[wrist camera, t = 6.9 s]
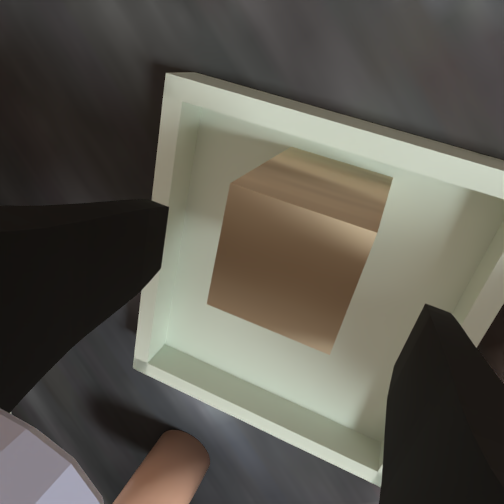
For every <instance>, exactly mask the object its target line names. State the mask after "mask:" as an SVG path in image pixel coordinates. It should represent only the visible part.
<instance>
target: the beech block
mask: <svg viewBox="0 0 504 504" xmlns="http://www.w3.org/2000/svg"><path fill="white" fill-rule="evenodd" d="M392 180H393V177H390V176H386V175H383V174H380V173H377V172H373V171H370V170H367V169H363V168H360V167H357V166H354V165H350V164H347V163H344V162H340V161H337V160H334V159H331V158H327V157H324V156H321V155H317V154H314V153H311V152H308V151H304V150H301V149H298V148H294V147H290V148H288V149H286V150H285V151H283V152H281V153H280V154H278V155H276V156H275V157H273V158H271V159H270V160H268V161H266V162H265V163H263V164H261V165H260V166H258V167H256V168H255V169H253V170H251V171H250V172H248V173H246V174H245V175H243V176H241V177H240V178H238V179H236V180H235V181H233V182H231V183H230V187H229V192H228V197H227V202H226V207H225V212H224V217H223V222H222V228H221V233H220V238H219V243H218V248H217V253H216V258H215V263H214V268H213V274H212V279H211V284H210V289H209V294H208V299H207V304H208V305H210V306H212V307H215V308H217V309H220V310H222V311H224V312H227V313H229V314H232V315H234V316H237V317H239V318H241V319H244V320H246V321H249V322H251V323H253V324H256V325H258V326H261V327H263V328H266V329H268V330H270V331H273V332H275V333H278V334H280V335H282V336H285V337H287V338H290V339H292V340H294V341H297V342H299V343H302V344H304V345H307V346H309V347H311V348H314V349H316V350H319V351H321V352H323V353H326V354H328V355H330V353H331V350H332V348H333V345H334V343H335V340H336V337H337V335H338V332H339V330H340V327H341V325H342V322H343V320H344V317H345V314H346V312H347V309H348V307H349V304H350V302H351V299H352V297H353V294H354V291H355V289H356V286H357V284H358V281H359V279H360V276H361V274H362V271H363V268H364V266H365V263H366V261H367V258H368V256H369V253H370V250H371V248H372V245H373V243H374V240H375V238H376V235H377V232H378V229H379V226H380V222H381V219H382V215H383V212H384V208H385V205H386V201H387V198H388V194H389V191H390V187H391V184H392Z"/></svg>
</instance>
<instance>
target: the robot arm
mask: <svg viewBox="0 0 504 504" xmlns="http://www.w3.org/2000/svg"><path fill="white" fill-rule="evenodd" d="M168 213H169V207H168V206H165V205H162V204H160V203H157V202H154V201H152V200H120V201H108V202H95V203H83V204H66V205H48V206H0V504H104V502H103V498H102V496H101V494H100V493H99V492H98V490H97V489H96V487H95V486H94V485H93V483H92V482H91V481H90V479H89V478H88V476H87V475H86V474H85V472H84V471H83V470H82V468H81V467H80V465H79V464H78V463H77V461H76V460H75V459H74V458H73V457H72V456H71V455H69V454H68V453H67V452H65V451H64V450H63V449H62V448H60V447H59V446H58V445H57V444H55V443H54V442H53V441H51V440H50V439H49V438H48V437H46V436H45V435H44V434H42V433H41V432H40V431H39V430H37V429H36V428H34V427H33V426H31V425H29V424H27V423H25V422H24V421H22V420H20V419H18V418H17V417H15V416H13V415H11V414H9V413H10V412H11V411H12V410H13V408H14V407H15V406H16V405H17V404H18V403H19V402H20V401H21V399H22V398H23V397H24V396H25V395H26V394H27V393H28V392H29V391H30V390H31V389H32V388H33V387H34V386H35V385H36V383H37V382H38V381H39V380H40V379H41V378H42V377H43V376H44V375H45V374H46V373H47V372H48V371H49V370H50V369H51V368H52V367H53V366H54V365H55V364H56V363H57V362H58V361H59V360H60V359H61V358H62V357H63V356H64V355H65V354H66V353H67V352H68V351H69V350H70V349H71V348H72V347H73V346H74V345H75V344H77V343H78V342H79V341H80V340H81V339H82V338H83V337H85V336H86V335H87V334H88V333H90V332H91V331H92V330H93V329H95V328H96V327H97V326H98V325H100V324H101V323H102V322H103V321H105V320H106V319H107V318H108V317H110V316H111V315H112V314H113V313H115V312H116V311H117V310H118V309H120V308H121V307H122V306H123V305H125V304H126V303H127V302H128V301H129V300H131V299H132V298H133V297H134V296H136V295H137V294H138V293H139V292H140V291H141V290H142V289H143V288H144V287H145V286H146V285H147V284H148V283H149V282H150V281H151V280H152V278H153V277H154V276H155V275H156V274H157V273H158V271H159V270H160V269H161V265H162V258H163V250H164V243H165V236H166V228H167V221H168ZM379 504H504V384H503V383H502V382H501V380H500V379H499V378H498V376H497V375H496V374H495V373H494V371H493V370H492V369H491V367H490V366H489V365H488V363H487V362H486V361H485V359H484V358H483V356H482V355H481V354H480V352H479V351H478V349H477V348H476V347H475V345H474V344H473V342H472V341H471V339H470V338H469V337H468V335H467V334H466V332H465V331H464V329H463V328H462V327H461V325H460V324H459V322H458V321H457V320H456V318H455V317H454V316H453V315H452V314H451V313H450V312H447V311H445V310H442V309H439V308H437V307H434V306H431V305H429V304H426V303H425V305H424V307H423V309H422V311H421V313H420V315H419V317H418V319H417V321H416V323H415V325H414V327H413V329H412V331H411V333H410V335H409V337H408V339H407V341H406V343H405V345H404V347H403V349H402V351H401V353H400V355H399V357H398V359H397V361H396V363H395V365H394V368H393V372H392V377H391V381H390V386H389V391H388V396H387V405H386V419H385V435H384V451H383V468H382V483H381V492H380V501H379Z"/></svg>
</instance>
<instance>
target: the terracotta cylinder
mask: <svg viewBox="0 0 504 504" xmlns="http://www.w3.org/2000/svg"><path fill="white" fill-rule="evenodd" d="M209 465H210V458H209V455H208V453H207V451H206V449H205V447H204V446H203V445H202V444H201V443H200V442H199V441H198V440H197V439H196V438H195V437H193V436H192V435H190V434H188V433H186V432H183V431H179V430H168V431H166V432H164V433H163V434H162V435H161V437H160V438H159V439H158V441H157V442H156V444H155V445H154V446H153V448H152V449H151V451H150V452H149V453H148V455H147V456H146V458H145V459H144V460H143V462H142V463H141V465H140V466H139V467H138V469H137V470H136V472H135V473H134V474H133V476H132V477H131V479H130V480H129V481H128V483H127V484H126V486H125V487H124V488H123V490H122V491H121V493H120V494H119V495H118V497H117V498H116V500H115V501H114V502H113V504H189V503H190V501H191V499H192V497H193V496H194V494H195V492H196V490H197V488H198V486H199V484H200V483H201V481H202V479H203V477H204V475H205V473H206V471H207V470H208V468H209Z"/></svg>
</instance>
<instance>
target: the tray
mask: <svg viewBox="0 0 504 504" xmlns="http://www.w3.org/2000/svg"><path fill="white" fill-rule="evenodd" d="M290 147H294V148H298V149H301V150H304V151H308V152H311V153H314V154H317V155H321V156H324V157H327V158H331V159H334V160H337V161H340V162H344V163H347V164H350V165H354V166H357V167H360V168H363V169H367V170H370V171H373V172H377V173H380V174H383V175H386V176H390V177H393V180H392V184H391V187H390V191H389V194H388V198H387V201H386V205H385V208H384V212H383V215H382V219H381V222H380V226H379V229H378V232H377V235H376V238H375V240H374V243H373V245H372V248H371V250H370V253H369V256H368V258H367V261H366V263H365V266H364V268H363V271H362V274H361V276H360V279H359V281H358V284H357V286H356V289H355V291H354V294H353V297H352V299H351V302H350V304H349V307H348V309H347V312H346V314H345V317H344V320H343V322H342V325H341V327H340V330H339V332H338V335H337V337H336V340H335V343H334V345H333V348H332V350H331V353H330V355H328V354H326V353H323V352H321V351H319V350H316V349H314V348H311V347H309V346H307V345H304V344H302V343H299V342H297V341H294V340H292V339H290V338H287V337H285V336H282V335H280V334H278V333H275V332H273V331H270V330H268V329H266V328H263V327H261V326H258V325H256V324H253V323H251V322H249V321H246V320H244V319H241V318H239V317H237V316H234V315H232V314H229V313H227V312H224V311H222V310H220V309H217V308H215V307H212V306H210V305H208V304H207V299H208V294H209V289H210V284H211V279H212V274H213V268H214V263H215V258H216V253H217V248H218V243H219V238H220V233H221V228H222V222H223V217H224V212H225V207H226V202H227V197H228V192H229V187H230V183H231V182H233V181H235V180H236V179H238V178H240V177H241V176H243V175H245V174H246V173H248V172H250V171H251V170H253V169H255V168H256V167H258V166H260V165H261V164H263V163H265V162H266V161H268V160H270V159H271V158H273V157H275V156H276V155H278V154H280V153H281V152H283V151H285V150H286V149H288V148H290ZM152 201H154V202H157V203H160V204H162V205H165V206H168V207H169V213H168V221H167V228H166V236H165V243H164V250H163V258H162V265H161V269H160V270H159V271H158V273H157V274H156V275H155V276H154V277H153V278H152V280H151V281H150V282H149V283H148V284H147V285H146V286H145V287H144V288H143V289H142V291H141V300H140V308H139V317H138V326H137V335H136V344H135V353H134V362H133V369H135V370H138V371H140V372H142V373H144V374H146V375H148V376H150V377H152V378H154V379H156V380H158V381H160V382H163V383H165V384H167V385H169V386H171V387H173V388H175V389H177V390H179V391H181V392H183V393H186V394H188V395H190V396H192V397H194V398H196V399H198V400H200V401H202V402H204V403H206V404H208V405H211V406H213V407H215V408H217V409H219V410H221V411H223V412H225V413H227V414H229V415H231V416H233V417H236V418H238V419H240V420H242V421H244V422H246V423H248V424H250V425H252V426H254V427H256V428H259V429H261V430H263V431H265V432H267V433H269V434H271V435H273V436H275V437H277V438H279V439H281V440H284V441H286V442H288V443H290V444H292V445H294V446H296V447H298V448H300V449H302V450H304V451H306V452H309V453H311V454H313V455H315V456H317V457H319V458H321V459H323V460H325V461H327V462H329V463H332V464H334V465H336V466H338V467H340V468H342V469H344V470H346V471H348V472H350V473H352V474H354V475H357V476H359V477H361V478H363V479H365V480H367V481H369V482H371V483H373V484H375V485H377V486H379V487H381V483H382V468H383V451H384V435H385V419H386V405H387V396H388V391H389V386H390V381H391V377H392V372H393V368H394V365H395V363H396V361H397V359H398V357H399V355H400V353H401V351H402V349H403V347H404V345H405V343H406V341H407V339H408V337H409V335H410V333H411V331H412V329H413V327H414V325H415V323H416V321H417V319H418V317H419V315H420V313H421V311H422V309H423V307H424V305H425V303H426V304H429V305H431V306H434V307H437V308H439V309H442V310H445V311H447V312H450V313H451V314H452V315H453V316H454V317H455V318H456V320H457V321H458V322H459V324H460V325H461V327H462V328H463V329H464V331H465V332H466V334H467V335H468V337H469V338H470V339H471V341H472V342H473V344H474V345H475V347H476V348H477V346H478V345H479V343H480V341H481V340H482V338H483V336H484V335H485V333H486V332H487V330H488V328H489V327H490V325H491V323H492V322H493V320H494V318H495V317H496V315H497V314H498V312H499V310H500V309H501V307H502V305H503V304H504V160H501V159H497V158H494V157H490V156H487V155H483V154H480V153H476V152H473V151H469V150H466V149H462V148H459V147H455V146H452V145H448V144H445V143H441V142H438V141H434V140H431V139H427V138H424V137H420V136H417V135H413V134H410V133H406V132H403V131H399V130H396V129H392V128H389V127H385V126H382V125H378V124H375V123H371V122H368V121H364V120H361V119H357V118H354V117H350V116H347V115H343V114H340V113H336V112H333V111H329V110H326V109H322V108H319V107H315V106H312V105H308V104H305V103H301V102H298V101H294V100H291V99H287V98H284V97H280V96H277V95H273V94H270V93H266V92H263V91H259V90H255V89H252V88H248V87H245V86H241V85H238V84H234V83H231V82H227V81H224V80H220V79H217V78H213V77H210V76H206V75H203V74H199V73H196V72H176V73H166V76H165V85H164V94H163V103H162V112H161V121H160V130H159V139H158V147H157V156H156V165H155V174H154V183H153V192H152Z"/></svg>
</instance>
